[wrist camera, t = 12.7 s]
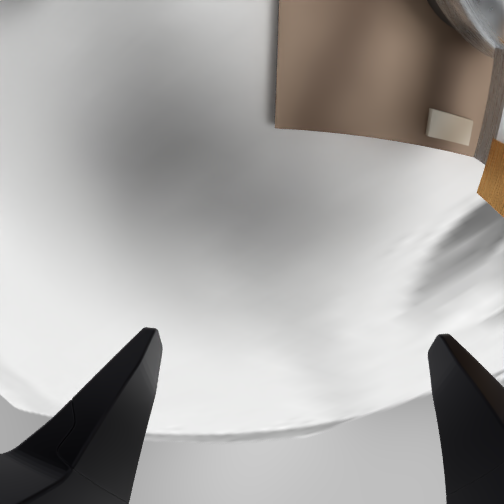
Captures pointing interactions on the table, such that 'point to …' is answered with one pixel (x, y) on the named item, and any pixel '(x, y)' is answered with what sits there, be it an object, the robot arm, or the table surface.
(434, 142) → the base plate
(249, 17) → the table surface
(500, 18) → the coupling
